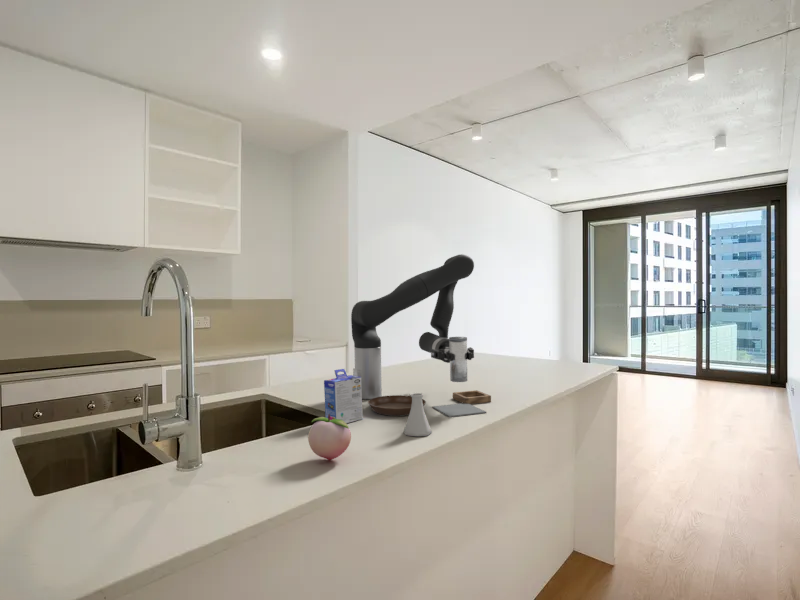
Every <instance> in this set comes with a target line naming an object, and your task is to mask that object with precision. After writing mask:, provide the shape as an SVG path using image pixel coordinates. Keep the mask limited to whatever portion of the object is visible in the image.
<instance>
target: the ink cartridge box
mask: <svg viewBox="0 0 800 600" xmlns="http://www.w3.org/2000/svg"><path fill="white" fill-rule="evenodd" d="M341 372H342V374H341ZM338 373H340V374H338ZM334 374H335V377H334V378H331V379H329V378H328V379H325V380H323V387H324V389H323V390H324V392H323V393H324V408H325V409H324V411H325V414H324V415H325V417H326V418H328V414H330V420H332V419H340V420H343V421H344V422H345V423H346V424H348V423H349V424H350V423H353V422H356V421H359V420H362V419H363V399H362V389H361V377H359V376H353V374H351V375H348V374H347V371H346V370H345V368H341V369H335V370H334Z"/></svg>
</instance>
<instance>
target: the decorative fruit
mask: <svg viewBox="0 0 800 600" xmlns="http://www.w3.org/2000/svg"><path fill="white" fill-rule="evenodd" d="M311 423H313V424H312V426H311V427H310V429H309V432H308V434H307V440H308V444H309V446H310V449H311V450H312V452H313V453H314V454H315V455H316V456H318V457H320V458H323V459H326V460H327V461H333V460H335V459H337V458H338V457H340V456H342V454H344V453H345V452H346V451H347V450H348V447H350V443H351V440H352V432H351V429H350V427H349V425H348V423H345V422H344V421H343V420H340V419H332V420H330V414H328V418H326V416H325V417H324V416H321V417H316V418H313V419H312V420H311Z"/></svg>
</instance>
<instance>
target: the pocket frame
mask: <svg viewBox="0 0 800 600" xmlns="http://www.w3.org/2000/svg"><path fill="white" fill-rule="evenodd" d="M452 399H453V400H455V401H457V402H459V403H468V404H470V405H474V404H482V403H483V404H484V403H491V402H492V395H490V394H487V393H485V392H482V391H480V390H467V391H455V392H452Z"/></svg>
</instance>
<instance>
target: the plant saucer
mask: <svg viewBox="0 0 800 600" xmlns="http://www.w3.org/2000/svg"><path fill="white" fill-rule="evenodd" d="M426 402H427V401H426V399H424V398H422V403H423V407H424V406H425V405H426ZM367 404H368V405H369V407H370V408H371V410H372V411H373V412H375V413H376V414H379V415H382V416H383V415H384V416H389V415H390V417H394V416H395V417H401V416H400V415H404V416H409V414H410V411H411V405H412V397H411V395H402V394H401V395H398V394H397V395H383V396H381V397H376V398H373V399H368V400H367Z"/></svg>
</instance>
